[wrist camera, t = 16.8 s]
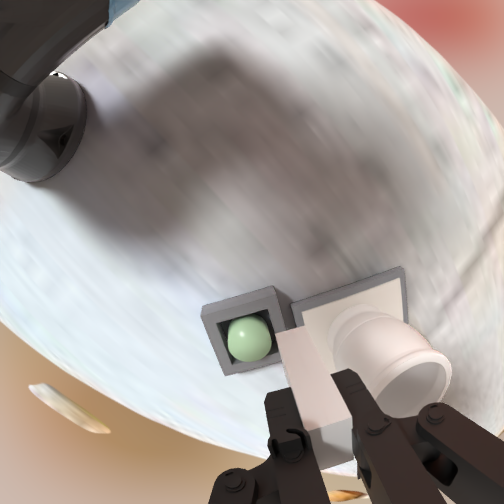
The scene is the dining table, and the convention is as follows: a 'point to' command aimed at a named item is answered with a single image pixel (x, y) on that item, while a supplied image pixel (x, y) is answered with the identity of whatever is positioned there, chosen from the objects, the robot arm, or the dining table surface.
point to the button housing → (237, 308)
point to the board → (336, 301)
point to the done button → (249, 338)
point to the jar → (389, 360)
